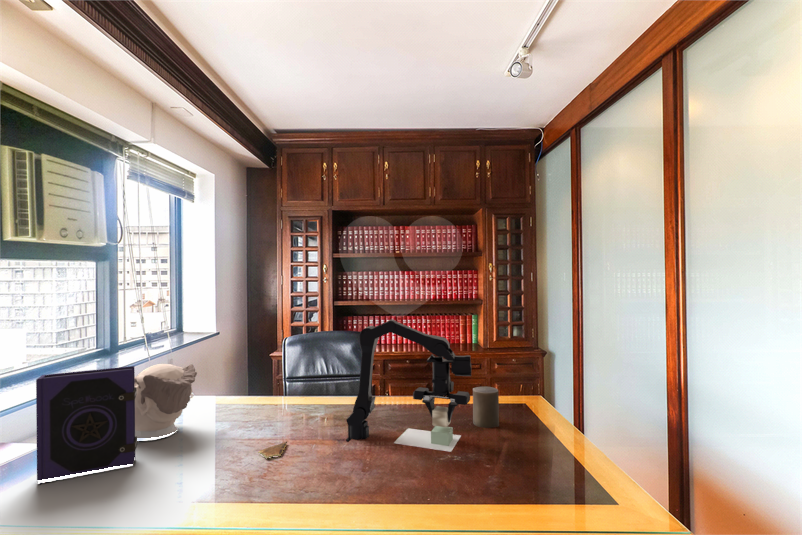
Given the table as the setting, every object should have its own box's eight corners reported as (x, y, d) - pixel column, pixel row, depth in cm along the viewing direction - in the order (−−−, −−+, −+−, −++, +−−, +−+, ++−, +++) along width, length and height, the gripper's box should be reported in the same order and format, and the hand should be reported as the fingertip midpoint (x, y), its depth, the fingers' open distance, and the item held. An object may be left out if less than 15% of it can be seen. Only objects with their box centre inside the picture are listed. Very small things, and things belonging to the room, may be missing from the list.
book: (36, 486, 118) (35, 379, 119) (43, 476, 124) (42, 374, 124) (135, 467, 129) (134, 369, 129) (137, 458, 135) (136, 365, 135)
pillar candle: (497, 431, 154) (497, 390, 154) (470, 428, 157) (470, 388, 157) (500, 422, 163) (500, 383, 163) (475, 420, 166) (474, 382, 166)
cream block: (432, 425, 142) (432, 410, 142) (436, 420, 147) (436, 406, 147) (446, 427, 140) (446, 412, 140) (450, 422, 145) (450, 407, 145)
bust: (93, 420, 154) (119, 350, 149) (144, 404, 172) (168, 341, 167) (137, 465, 145) (166, 391, 140) (186, 443, 163) (213, 377, 158)
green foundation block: (431, 443, 142) (430, 431, 142) (436, 436, 147) (436, 425, 147) (448, 445, 140) (448, 433, 140) (452, 439, 145) (452, 427, 145)
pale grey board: (393, 445, 142) (393, 442, 142) (408, 430, 155) (408, 428, 155) (451, 454, 135) (451, 451, 135) (461, 438, 148) (461, 435, 148)
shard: (287, 445, 145) (287, 440, 145) (299, 452, 140) (298, 446, 140) (257, 455, 137) (257, 450, 137) (268, 463, 132) (268, 457, 132)
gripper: (473, 371, 148) (473, 416, 148) (422, 367, 154) (423, 410, 154) (466, 379, 137) (466, 427, 137) (412, 375, 144) (412, 420, 144)
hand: (441, 420), depth 143 cm, fingers closed on cream block, 5 cm apart
